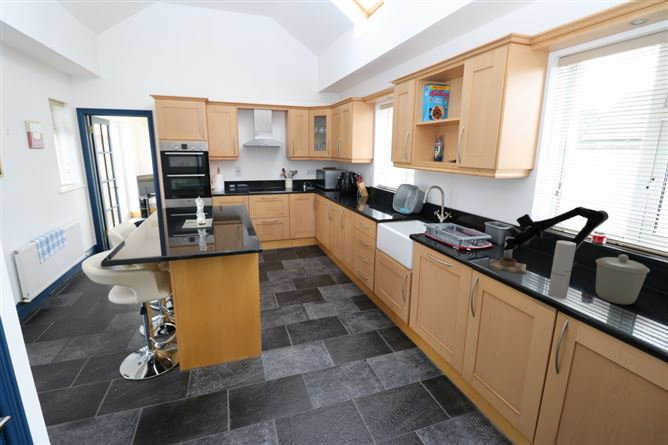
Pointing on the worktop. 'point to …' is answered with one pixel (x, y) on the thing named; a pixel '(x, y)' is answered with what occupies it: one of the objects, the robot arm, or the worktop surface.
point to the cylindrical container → (561, 269)
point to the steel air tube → (507, 252)
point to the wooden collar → (508, 262)
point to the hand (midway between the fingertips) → (506, 249)
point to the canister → (619, 279)
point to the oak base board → (518, 269)
